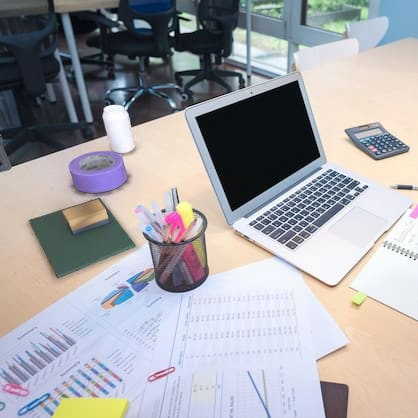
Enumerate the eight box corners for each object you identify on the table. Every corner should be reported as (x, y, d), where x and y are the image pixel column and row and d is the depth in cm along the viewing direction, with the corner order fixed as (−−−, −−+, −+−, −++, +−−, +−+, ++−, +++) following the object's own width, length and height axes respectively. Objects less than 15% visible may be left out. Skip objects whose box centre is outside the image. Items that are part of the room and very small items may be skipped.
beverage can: (124, 142, 111) (114, 102, 104) (140, 148, 110) (132, 107, 102) (106, 151, 107) (95, 109, 100) (123, 157, 105) (113, 115, 98)
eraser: (73, 235, 79) (68, 221, 76) (66, 223, 81) (61, 210, 79) (109, 222, 83) (105, 209, 80) (102, 212, 85) (98, 199, 83)
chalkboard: (58, 278, 70) (57, 275, 70) (29, 222, 82) (28, 219, 81) (135, 246, 78) (135, 244, 78) (100, 199, 90) (99, 197, 89)
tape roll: (75, 171, 98) (69, 153, 95) (125, 164, 102) (121, 147, 99) (73, 197, 89) (67, 178, 86) (129, 188, 94) (124, 170, 91)
